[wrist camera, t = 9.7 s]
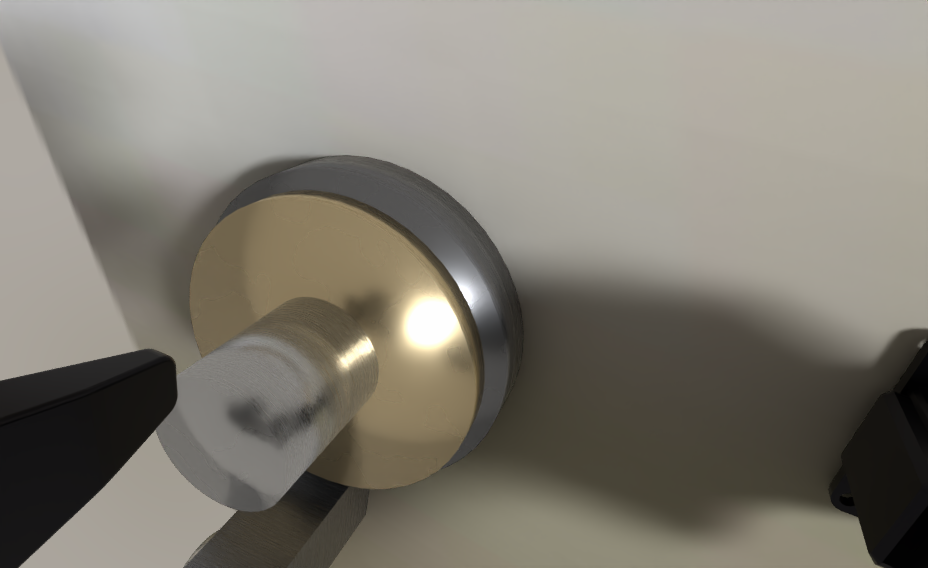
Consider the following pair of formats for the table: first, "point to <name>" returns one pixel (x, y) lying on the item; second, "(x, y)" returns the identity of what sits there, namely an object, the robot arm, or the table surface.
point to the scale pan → (371, 305)
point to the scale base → (493, 307)
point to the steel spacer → (269, 402)
